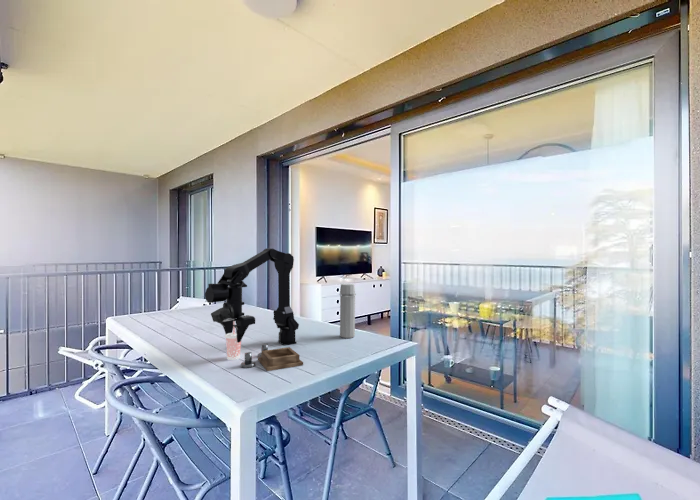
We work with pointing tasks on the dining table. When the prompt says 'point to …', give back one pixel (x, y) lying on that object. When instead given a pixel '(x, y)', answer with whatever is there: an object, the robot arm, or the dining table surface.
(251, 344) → the dining table surface
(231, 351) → the beverage cup
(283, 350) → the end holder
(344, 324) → the water bottle
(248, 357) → the knob
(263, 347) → the knob
